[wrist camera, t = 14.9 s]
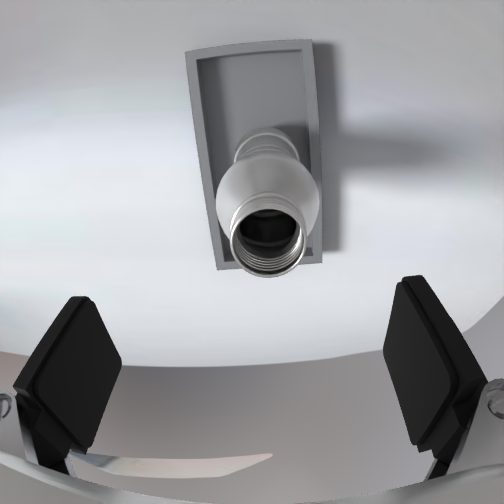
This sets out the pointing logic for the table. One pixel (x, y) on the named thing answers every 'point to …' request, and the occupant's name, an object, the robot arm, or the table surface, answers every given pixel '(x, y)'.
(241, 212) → the plastic bottle
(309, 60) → the grey rectangular tray
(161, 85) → the table surface
